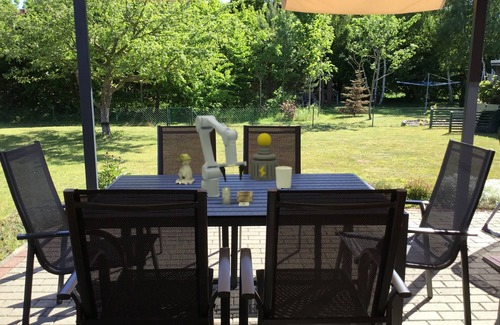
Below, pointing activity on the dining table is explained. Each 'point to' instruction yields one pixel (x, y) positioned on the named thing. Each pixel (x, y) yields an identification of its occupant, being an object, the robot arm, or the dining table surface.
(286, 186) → the candle holder
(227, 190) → the pin
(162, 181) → the dining table surface
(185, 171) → the cream figurine
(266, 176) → the decorative lamp
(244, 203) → the key card
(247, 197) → the tan frame
